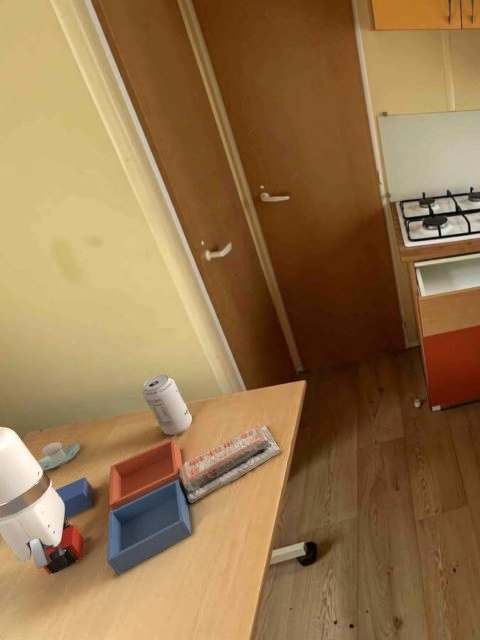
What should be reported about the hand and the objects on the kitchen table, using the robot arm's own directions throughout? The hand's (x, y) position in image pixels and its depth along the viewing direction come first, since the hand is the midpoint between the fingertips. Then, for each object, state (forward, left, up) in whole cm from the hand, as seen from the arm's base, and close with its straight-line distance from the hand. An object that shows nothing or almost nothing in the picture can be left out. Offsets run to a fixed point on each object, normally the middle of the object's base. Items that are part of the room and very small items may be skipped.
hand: (66, 554), depth 78 cm
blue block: (+1, +13, -2) cm, 13 cm away
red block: (0, 0, -1) cm, 1 cm away
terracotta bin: (+13, +9, -2) cm, 16 cm away
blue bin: (+13, -4, -2) cm, 13 cm away
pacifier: (-3, +30, -2) cm, 30 cm away
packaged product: (+27, +3, -2) cm, 27 cm away
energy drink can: (+19, +24, -2) cm, 30 cm away
